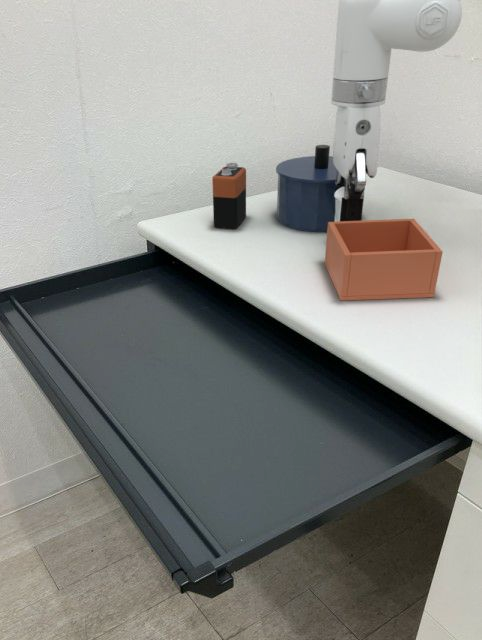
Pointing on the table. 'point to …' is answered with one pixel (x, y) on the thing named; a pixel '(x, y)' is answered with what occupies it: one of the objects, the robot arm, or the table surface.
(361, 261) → the bin
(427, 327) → the table surface
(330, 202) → the pot
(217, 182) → the battery
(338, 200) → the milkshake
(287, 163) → the pot lid
